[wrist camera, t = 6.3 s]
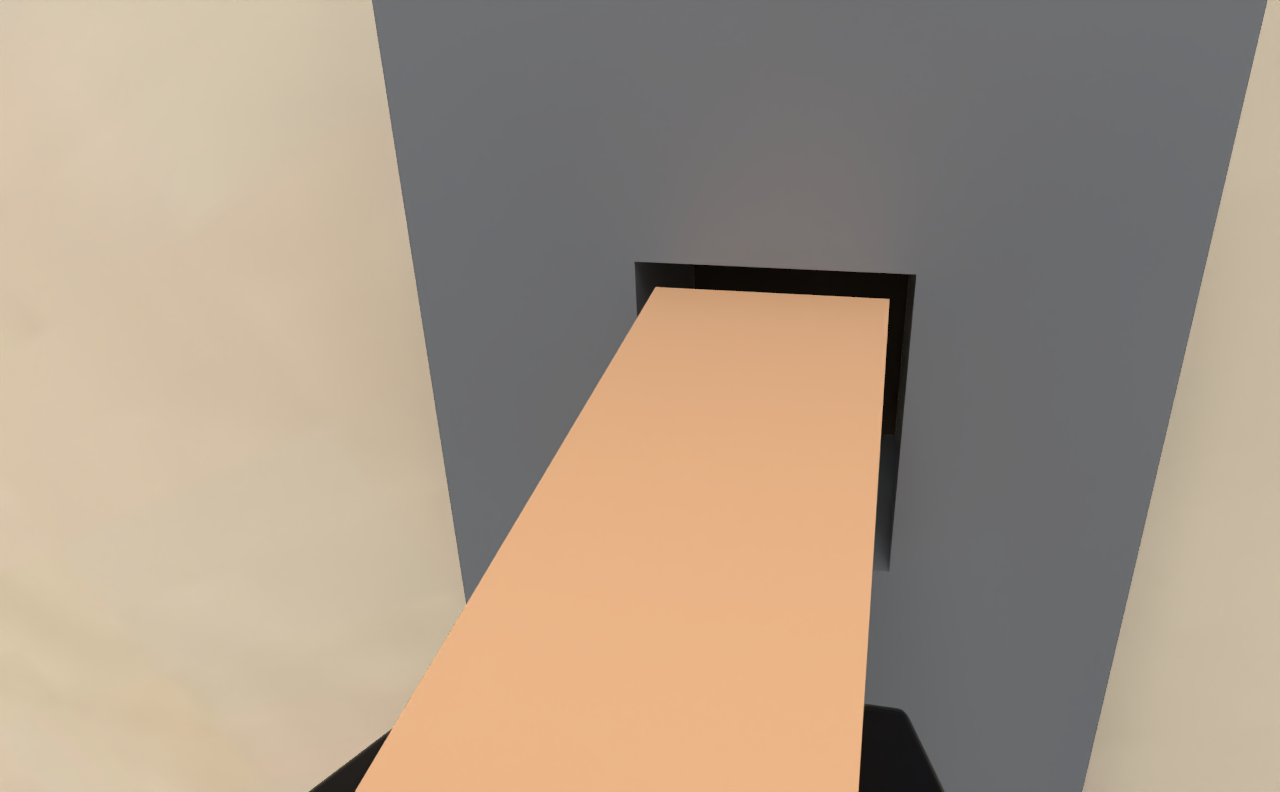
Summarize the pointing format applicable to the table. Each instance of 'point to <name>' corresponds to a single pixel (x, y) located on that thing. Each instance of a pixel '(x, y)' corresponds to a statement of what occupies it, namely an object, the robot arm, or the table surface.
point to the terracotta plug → (678, 572)
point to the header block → (858, 242)
